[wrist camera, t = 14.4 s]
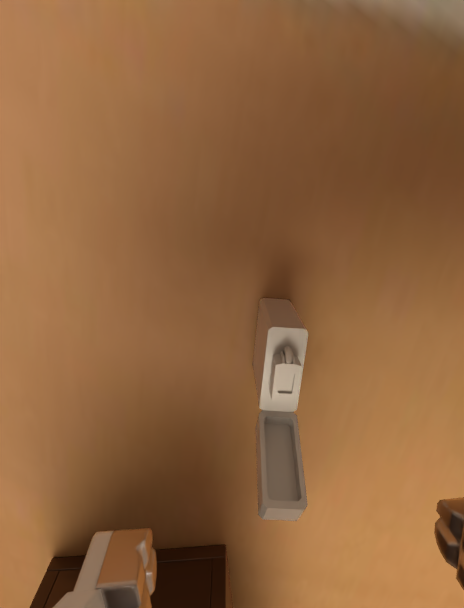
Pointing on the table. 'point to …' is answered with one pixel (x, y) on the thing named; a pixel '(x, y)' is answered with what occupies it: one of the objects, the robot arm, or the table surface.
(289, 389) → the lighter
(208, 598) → the chest
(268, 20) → the table surface
